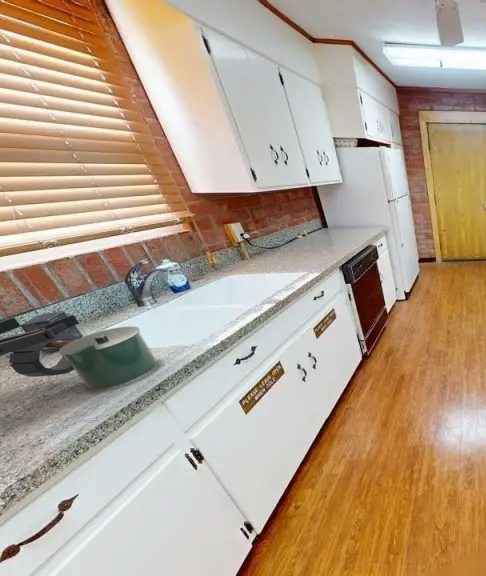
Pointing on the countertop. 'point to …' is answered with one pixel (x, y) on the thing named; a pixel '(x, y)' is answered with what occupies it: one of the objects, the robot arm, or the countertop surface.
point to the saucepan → (108, 356)
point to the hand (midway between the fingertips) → (46, 320)
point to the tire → (29, 363)
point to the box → (46, 319)
